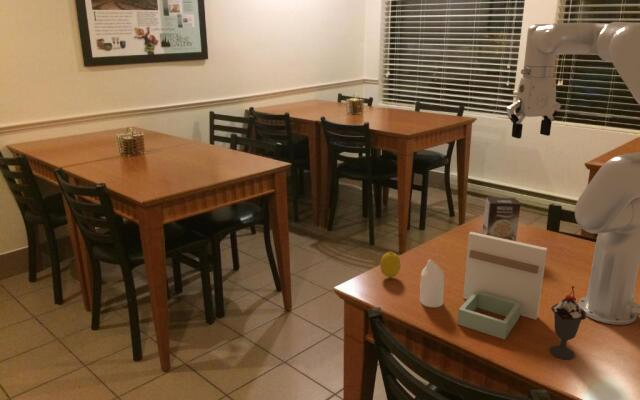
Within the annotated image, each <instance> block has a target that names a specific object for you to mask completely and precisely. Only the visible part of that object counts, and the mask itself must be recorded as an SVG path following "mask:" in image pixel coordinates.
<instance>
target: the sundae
mask: <svg viewBox="0 0 640 400" xmlns="http://www.w3.org/2000/svg"><path fill="white" fill-rule="evenodd" d="M574 288H575V286H574V285H573V286H571V292H570V294H569V295H566V296H565V298H563V299H561V300H560V301H559V302H558V303H555V304H554V305H552V306H551V308H550V310H551V311H552V313H553V316H554V317H553V319H554V325H553V326H554V332H555V334H556V336H557V337H558V338H559V339H560V343H559V345H553V346H550V348H549V353H550V354H551V356H553V357H555V358H557V359H560V360H565V361H567V360H572V359H574V358H575V356H576V354H575V353H574V351H573V350H572V349H570V348H569V347H567V343H568V341H570V340H573V339H574V338H575V337H576V336H577V332H578V330H579V327H580V324H581V322H582V320H586V318H587V316H586V312H585V311H584V310H583V309H581V308H580V306H579V305H578V303H577V301H576V300H577V297H575V290H574ZM572 294H573V295H572ZM571 295H572V296H571Z"/></svg>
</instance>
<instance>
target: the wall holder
mask: <svg viewBox="0 0 640 400" xmlns="http://www.w3.org/2000/svg"><path fill="white" fill-rule="evenodd" d="M467 238H468V239H467V250H466V251H467V252H466V262H465V263H466V264H465V272H464V273H465V274H464V285H463V287H464V288H463V296H462V298H463V299H464V300H465V302H464V303H463V304H462V305H461V306H460V307H459V308H458V314H457V325H458V326H462V327H465V328H467V329H471V330H474V331H477V332H480V333H483V334H487V335H489V336H492V337H495V338H498V339H502V340H506V338H507V337H508V335H509V334H510V333H511V331H512V330H513V328H514V326H515V325H516V324H517V322H518V321H519V319H520V316H522V317H525V318H529V319H533V320H536V321H537V319H538V317H539V310H540V304H541V297H542V291H543V290H542V288H543V284H544V283H543V282H544V274H545V267H546V261H547V259H546V258H547V253H548V247H544V246H543V247H542V246H539V245H535V244H530V243H525V242H521V241H517V240H516V241H512V240H507V239H503V238H498V237H493V236H489V235H484V234H482V233H478V232H475V231H470V232H469V233H468V237H467ZM476 309H481V310H482V311H486V312H491V313H493V314H497V315H500V316H503V317H505V318H504V319H503V320H502V319H501V318H500V319H499V318H496V317H493V316H489V315H486V314H482V313H480V312H477V311H476Z"/></svg>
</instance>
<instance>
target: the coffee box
mask: <svg viewBox="0 0 640 400" xmlns="http://www.w3.org/2000/svg"><path fill="white" fill-rule="evenodd" d="M520 211H521V202H520V201H519V200H518V199H516V197H502V196H501V197H500V196H499V197H498V196H486V197H485V205H484V215H483V221H482V222H483V225H482V231H481V234H484V235H489V236H493V237H498V238H503V239H507V240H512V241H516V242H517V236H518V235H517V234H518V227H519V219H520Z"/></svg>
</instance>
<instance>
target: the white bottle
mask: <svg viewBox="0 0 640 400" xmlns="http://www.w3.org/2000/svg"><path fill="white" fill-rule="evenodd" d="M426 262H427V263H426V265H425V267H423V269H422V270H421V273H420V284H419V303H420V304H422V305H423V306H424V307H428V308H439V307H442V306H443V304H444V290H445V289H444V288H445V286H444V285H445V272H444V271H443V269H442V268H441V267H440V266H439V265H438V264H436V262H434V261H433V260H432V259H427V261H426Z"/></svg>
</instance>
